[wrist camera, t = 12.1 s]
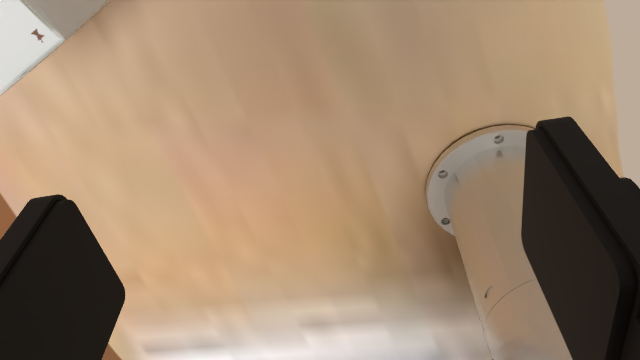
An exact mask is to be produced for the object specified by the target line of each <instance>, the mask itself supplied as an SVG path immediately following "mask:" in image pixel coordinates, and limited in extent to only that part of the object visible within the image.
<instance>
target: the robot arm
mask: <svg viewBox="0 0 640 360" xmlns="http://www.w3.org/2000/svg"><path fill="white" fill-rule="evenodd" d="M426 199H427V204H428V207H429V210H430V213H431V215H432V217H433V218H434V220H435V221H436V223H437V224H438V225H439V226H440V227H441V228H442V229H443V230H445V231H446V232H448V233H450V234H451V235H453V236H455V238H456V241H457V244H458V248H459V251H460V254H461V258H462V261H463V264H464V268H465V271H466V274H467V278H468V281H469V284H470V288H471V291H472V294H473V297H474V301H475V304H476V307H477V311H478V314H479V317H480V321H481V324H482V327H483V331H484V334H485V337H486V340H487V343H488V347H489V350H490V353H491V355H492V358H493V360H640V189H639V187H638V186H637V185H636V184H635V183H634V182H633V181H632V180H631V179H628V178H619V177H618V176H617V174H616V173H615V172H614V171H613V169H612V168H611V167H610V165H609V164H608V163H607V162H606V160H605V159H604V158H603V157H602V155H601V154H600V153H599V151H598V150H597V149H596V148H595V146H594V145H593V144H592V142H591V141H590V140H589V139H588V137H587V136H586V135H585V134H584V132H583V131H582V130H581V128H580V127H579V126H578V125H577V123H576V122H575V121H574V119H572V118H571V117H563V118H556V119H550V120H543V121H539V122H538V123H537V125H536V129H533V128H529V127H525V126H519V125H502V126H493V127H489V128H485V129H482V130H478V131H476V132H474V133H471V134H469V135H467V136H465V137H463V138H461V139H460V140H458V141H457V142H455V143H454V144H452V145H451V146H450V147H449V148H448V149H447V150H446V151H444V152H443V153H442V154H441V156H440V157H439V158H438V160H437V161H436V162H435V163H434V165H433V167H432V169H431V171H430V173H429V176H428V179H427V183H426ZM124 300H125V290H124V286H123V284H122V282H121V281H120V279H119V277H118V275H117V274H116V272H115V270H114V269H113V267H112V265H111V264H110V262H109V260H108V258H107V257H106V255H105V253H104V252H103V250H102V248H101V246H100V245H99V243H98V241H97V240H96V238H95V236H94V235H93V233H92V231H91V229H90V228H89V226H88V224H87V223H86V221H85V219H84V217H83V216H82V214H81V212H80V211H79V209H78V207H77V206H76V204H75V203H74V202H73V201H72V200H67V199H66V198H65V197H64V196H63V195H52V196H45V197H39V198H34V199H31V200H30V201H29V202H28V203H27V204H26V206H25V207H24V208H23V210H22V211H21V212H20V214H19V215H18V217H17V218H16V219H15V221H14V222H13V223H12V225H11V226H10V228H9V229H8V230H7V232H6V233H5V235H4V236H3V237H2V238H1V240H0V360H101V359H102V357H103V354H104V352H105V349H106V347H107V344H108V342H109V339H110V337H111V334H112V332H113V329H114V327H115V324H116V321H117V319H118V316H119V314H120V311H121V309H122V306H123V304H124Z"/></svg>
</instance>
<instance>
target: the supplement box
mask: <svg viewBox="0 0 640 360" xmlns="http://www.w3.org/2000/svg"><path fill="white" fill-rule="evenodd" d="M109 1H110V0H0V96H1V95H2V94H3V93H4V92H6V91H7V90H8V89H9V88H10V87H12V86H13V85H14V84H15V83H17V82H18V81H19V80H20V79H22V78H23V77H24V76H25V75H26V74H28V73H29V72H30V71H31V70H32V69H34V68H35V67H36V66H37V65H38V64H40V63H41V62H42V61H43V60H44V59H45V58H47V57H48V56H49V55H50V54H51V53H53V52H54V51H55V50H56V49H57V48H58V47H59V46H60V45H62V44H63V43H64V42H65V41H66V40H67V39H68V38H69V37H70V36H71V35H73V34H74V33H75V32H76V31H77V30H78V29H79V28H80V27H81V26H82V25H84V24H85V23H86V22H87V21H88V20H89V19H90V18H91V17H92V16H93V15H94V14H95V13H97V12H98V11H99V10H100V9H101V8H102V7H103V6H104V5H105V4H107V3H108V2H109Z"/></svg>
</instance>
